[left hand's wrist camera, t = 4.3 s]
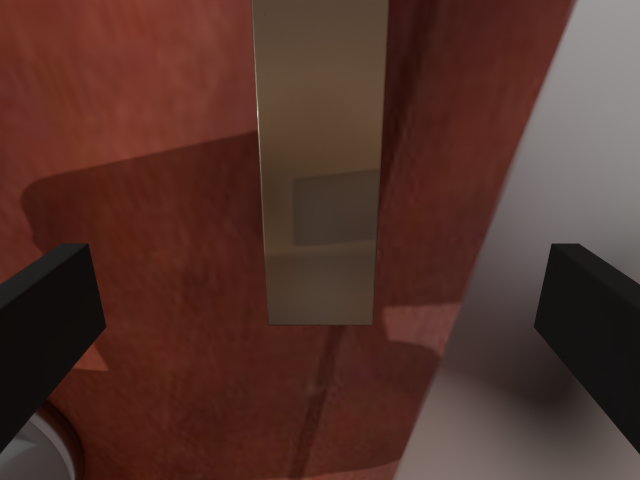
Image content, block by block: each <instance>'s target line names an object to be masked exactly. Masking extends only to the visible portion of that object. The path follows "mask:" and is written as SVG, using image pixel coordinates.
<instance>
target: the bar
mask: <svg viewBox="0 0 640 480" xmlns="http://www.w3.org/2000/svg"><path fill="white" fill-rule="evenodd" d="M389 5H390V0H251V14H252V33H253V52H254V72H255V91H256V110H257V129H258V148H259V167H260V186H261V205H262V224H263V243H264V262H265V281H266V301H267V320H268V325H372V324H373V307H374V288H375V269H376V250H377V232H378V213H379V194H380V175H381V156H382V137H383V118H384V100H385V81H386V62H387V43H388V24H389Z"/></svg>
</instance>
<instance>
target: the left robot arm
mask: <svg viewBox="0 0 640 480" xmlns="http://www.w3.org/2000/svg"><path fill="white" fill-rule="evenodd" d="M105 328H106V323H105V319H104V314H103V309H102V305H101V300H100V296H99V291H98V286H97V282H96V277H95V272H94V268H93V263H92V258H91V254H90V249H89V245H88V244H60V245H59V246H57V247H56V248H54V249H53V250H51V251H50V252H48V253H47V254H45V255H44V256H42V257H41V258H39V259H38V260H36V261H35V262H33V263H32V264H30V265H29V266H27V267H26V268H24V269H23V270H21V271H20V272H18V273H17V274H15V275H14V276H12V277H11V278H9V279H8V280H6V281H5V282H3V283H2V284H0V480H82V477H83V473H84V459H83V454H82V450H81V447H80V444H79V442H78V439H77V437H76V435H75V434H74V432H73V430H72V429H71V427H70V426H69V425H68V423H67V422H66V421H65V419H64V418H63V417H62V416H61V415H60V414H59V413H58V412H57V411H56V410H55V409H54V408H53V407H52V406H51V405H49V404H48V403H47V402H46V401H45V400H46V399H47V397H48V396H49V395H50V394H51V393H52V391H53V390H54V389H55V388H56V387H57V385H58V384H59V383H60V382H61V381H62V379H63V378H64V377H65V376H66V375H67V373H68V372H69V371H70V370H71V369H72V367H73V366H74V365H75V364H76V363H77V361H78V360H79V359H80V358H81V357H82V355H83V354H84V353H85V352H86V351H87V349H88V348H89V347H90V346H91V345H92V343H93V342H94V341H95V340H96V339H97V337H98V336H99V335H100V334H101V333H102V331H103V330H104V329H105ZM534 328H535V329H536V330H537V331H538V333H539V334H540V335H541V336H542V337H543V339H544V340H545V341H546V342H547V343H548V345H549V346H550V347H551V348H552V349H553V351H554V352H555V353H556V354H557V355H558V357H559V358H560V359H561V360H562V361H563V362H564V364H565V365H566V366H567V367H568V369H569V370H570V371H571V372H572V373H573V375H574V376H575V377H576V378H577V379H578V381H579V382H580V383H581V384H582V385H583V387H584V388H585V389H586V390H587V391H588V393H589V394H590V395H591V396H592V397H593V399H594V400H595V401H596V402H597V403H598V405H599V406H600V407H601V408H602V409H603V411H604V412H605V413H606V414H607V415H608V417H609V418H610V419H611V420H612V421H613V423H614V424H615V425H616V426H617V427H618V429H619V430H620V431H621V432H622V433H623V435H624V436H625V437H626V438H627V439H628V441H629V442H630V443H631V444H632V446H633V447H634V448H635V449H636V450H637V452H638V453H639V454H640V285H639V284H638V283H637V282H635V281H634V280H632V279H631V278H629V277H628V276H626V275H625V274H623V273H622V272H620V271H619V270H617V269H616V268H614V267H613V266H611V265H610V264H608V263H607V262H605V261H604V260H602V259H601V258H599V257H598V256H596V255H595V254H593V253H592V252H590V251H589V250H587V249H586V248H584V247H583V246H581V245H580V244H552V245H551V249H550V254H549V258H548V263H547V268H546V272H545V277H544V282H543V286H542V291H541V296H540V300H539V305H538V310H537V314H536V319H535V323H534Z"/></svg>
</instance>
